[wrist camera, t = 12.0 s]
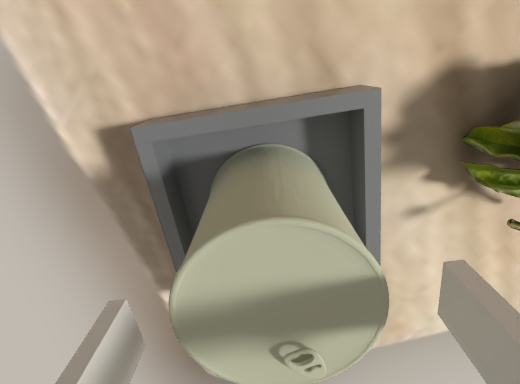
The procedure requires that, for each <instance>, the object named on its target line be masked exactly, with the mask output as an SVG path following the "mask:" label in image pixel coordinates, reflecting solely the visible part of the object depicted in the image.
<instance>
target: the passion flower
mask: <svg viewBox="0 0 520 384" xmlns="http://www.w3.org/2000/svg"><path fill="white" fill-rule="evenodd" d="M462 141H463V142H466V143H469V144H470V145H472V146H473V147H474V148H476V149H477V150H478V151H480V152H482V153H485V154H487V155H490V156H493V157H495V158H510V159H515V160H519V161H520V120H517V121H513V122H511V123H508V124H504V125H503V126H502V127H493V126H479V127H474V128H473V129H472V130H471V131H470V133H469V134H468V135H467V136H465V137H463V139H462ZM460 163H461V164H463V165H464V166H465V167H466V168H467V170H468V172H469V174H470V175H471V176H473V177H474V178H475V180H476V181H478V182H479V183H481V184H483V185H485V186H487V187H489V188H492V189H494V190H495V191H496V192H502V193H505V194H508V195H511V196H515V197H520V169H509V168H500V167H496V166H494V165H490V164H478V163H470V162H463V161H460ZM507 225H508V226H509V227H511V228H513V229H516V230H520V222H517V221H515V220H513V219H510V220H508V222H507Z"/></svg>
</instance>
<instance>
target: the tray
mask: <svg viewBox="0 0 520 384" xmlns="http://www.w3.org/2000/svg"><path fill="white" fill-rule="evenodd" d="M130 130H131V133H132V136H133V139H134V142H135V146H136V149H137V152H138V155H139V158H140V161H141V164H142V167H143V170H144V173H145V176H146V180H147V183H148V186H149V189H150V192H151V195H152V198H153V201H154V204H155V207H156V210H157V214H158V217H159V220H160V223H161V226H162V229H163V232H164V235H165V238H166V241H167V245H168V248H169V251H170V254H171V257H172V260H173V263H174V266H175V269H176V272H177V271H178V270H179V268H180V266H181V265H182V263H183V261H184V259H185V257H186V254H187V252H188V249H189V247H190V245H191V242H192V240H193V237H194V235H195V233H196V230H197V228H198V225H199V223H200V220H201V217H202V215H203V212H204V210H205V207H206V205H207V202H208V199H209V196H210V189H211V185H212V182H213V179H214V177H215V175H216V174H217V172H218V170H219V169H220V167H221V166H222V165H223V164H224V163H225V162H226V161H227V160H228V159H229V158H230V157H232V156H233V155H234V154H236V153H238V152H239V151H241V150H243V149H246V148H248V147H251V146H255V145H260V144H281V145H285V146H289V147H292V148H295V149H297V150H299V151H301V152H303V153H304V154H306V155H307V156H309V157H310V158H311V159H312V160H313V161H314V162H315V163H316V164H317V165H318V166H319V168H320V169H321V171H322V172H323V174H324V176H325V178H326V181H327V184H328V187H329V189H330V191H331V192H332V194H333V196H334V197H335V199H336V201H337V202H338V204H339V206H340V207H341V209H342V211H343V212H344V214H345V216H346V217H347V219H348V220H349V222H350V224H351V225H352V227H353V228H354V230H355V232H356V233H357V235H358V236H359V238H360V239H361V241H362V243H363V244H364V246H365V247H366V249H367V250H368V251H369V252H370V253H371V254H372V255H373V257H374V258H375V260H376V261H377V262H378V264H379V266H380V230H381V88H379V87H372V86H365V85H359V86H353V87H346V88H340V89H334V90H328V91H321V92H315V93H309V94H303V95H297V96H290V97H284V98H278V99H272V100H266V101H259V102H253V103H247V104H241V105H235V106H228V107H222V108H216V109H210V110H204V111H197V112H191V113H185V114H179V115H173V116H166V117H160V118H154V119H149V120H147V121H145V122H142V123H140V124H138V125H136V126H133V127H131V128H130Z"/></svg>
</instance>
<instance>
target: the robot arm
mask: <svg viewBox="0 0 520 384" xmlns="http://www.w3.org/2000/svg"><path fill="white" fill-rule="evenodd" d="M438 315H439V316H440V318H441V319H442V321H443V322H444V324H445V325H446V326H447V328H448V329H449V331H450V332H451V333H452V335H453V336H454V338H455V339H456V341H457V342H458V343H459V345H460V346H461V347H462V349H463V350H464V352H465V353H466V355H467V356H468V358H469V359H470V360H471V362H472V363H473V364H474V366H475V367H476V369H477V370H478V372H479V373H480V375H481V376H482V377H483V379H484V380H485V382H486V383H487V384H520V314H519V313H518V312H517V311H516V310H515V309H514V308H513V307H512V306H511V305H510V304H509V303H508V302H507V301H506V300H505V299H504V298H503V297H502V296H501V295H500V294H499V293H498V292H497V291H496V290H495V289H494V288H493V287H492V286H490V285H489V284H488V283H487V282H486V281H485V280H484V279H483V278H482V277H481V276H480V275H479V274H478V273H477V272H476V271H475V270H474V269H473V268H472V267H471V266H470V265H469V264H468V263H467V262H466V261H465V260H457V261H448V262H444V263H443V272H442V281H441V289H440V298H439V306H438ZM145 346H146V344H145V341H144V339H143V337H142V335H141V332H140V330H139V328H138V325H137V324H136V321H135V318H134V316H133V314H132V311H131V309H130V307H129V305H128V302H127V300H126V299H123V300H115V301H109V302H108V303H107V305H106V307H105V308H104V310H103V311H102V313H101V314H100V316H99V317H98V319H97V320H96V322H95V323H94V325H93V327H92V328H91V330H90V331H89V333H88V334H87V336H86V337H85V339H84V340H83V342H82V343H81V345H80V347H79V348H78V350H77V351H76V353H75V354H74V356H73V357H72V359H71V360H70V362H69V363H68V365H67V366H66V368H65V370H64V371H63V373H62V374H61V376H60V378H59V379H58V380H57V382H56V383H55V384H130V381H131V379H132V377H133V374H134V372H135V370H136V367H137V365H138V362H139V360H140V358H141V355H142V352H143V350H144V348H145Z"/></svg>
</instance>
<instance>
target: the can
mask: <svg viewBox="0 0 520 384" xmlns="http://www.w3.org/2000/svg"><path fill="white" fill-rule="evenodd" d="M388 310H389V292H388V286H387V282H386V279H385V276H384V274H383V271H382V269H381V268H380V266H379V264H378V262H377V261H376V260H375V258H374V257H373V255H372V254H371V253H370V252H369V251H368V250H367V249H366V247H365V246H364V244H363V243H362V241H361V239H360V238H359V236H358V235H357V233H356V232H355V230H354V228H353V227H352V225H351V224H350V222H349V220H348V219H347V217H346V216H345V214H344V212H343V211H342V209H341V207H340V206H339V204H338V202H337V201H336V199H335V197H334V196H333V194H332V192H331V191H330V189H329V187H328V184H327V181H326V178H325V176H324V174H323V172H322V171H321V169H320V168H319V166H318V165H317V164H316V163H315V162H314V161H313V160H312V159H311V158H310V157H309V156H307V155H306V154H304V153H303V152H301V151H299V150H297V149H295V148H292V147H289V146H285V145H281V144H260V145H255V146H251V147H248V148H246V149H243V150H241V151H239V152H238V153H236V154H234V155H233V156H232V157H230V158H229V159H228V160H227V161H226V162H225V163H224V164H223V165H222V166H221V167H220V169H219V170H218V172H217V174H216V175H215V177H214V179H213V182H212V185H211V189H210V196H209V199H208V202H207V205H206V207H205V210H204V212H203V215H202V217H201V220H200V223H199V225H198V228H197V230H196V233H195V235H194V237H193V240H192V242H191V245H190V247H189V249H188V252H187V254H186V257H185V259H184V261H183V263H182V265H181V266H180V268H179V270H178V271H177V273H176V275H175V278H174V280H173V283H172V286H171V290H170V296H169V316H170V321H171V324H172V328H173V330H174V333H175V335H176V337H177V339H178V340H179V342H180V344H181V345H182V347H183V348H184V349H185V351H186V352H187V353H188V354H189V355H190V356H191V357H192V358H193V359H194V360H195V361H196V362H197V363H198V364H200V365H201V366H203V367H204V368H205V369H207V370H208V371H210V372H212V373H213V374H215V375H217V376H219V377H222V378H224V379H226V380H229V381H232V382H235V383H238V384H314V383H317V382H321V381H323V380H326V379H328V378H331V377H333V376H335V375H337V374H339V373H341V372H343V371H344V370H346V369H348V368H349V367H351V366H352V365H354V364H355V363H356V362H358V361H359V360H360V359H361V358H362V357H363V356H364V355H365V354H366V353H367V352H368V351H369V350H370V349H371V348H372V347H373V345H374V344H375V342H376V341H377V340H378V338H379V336H380V334H381V332H382V330H383V328H384V325H385V323H386V319H387V316H388Z"/></svg>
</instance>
